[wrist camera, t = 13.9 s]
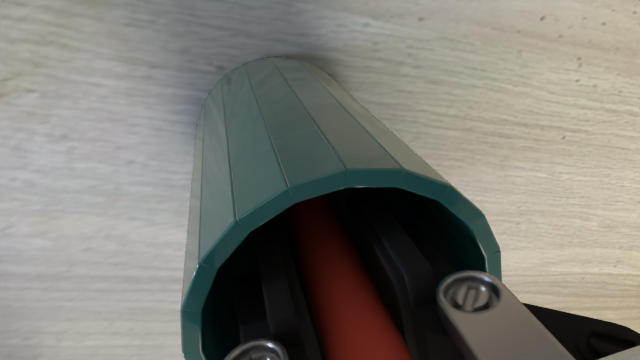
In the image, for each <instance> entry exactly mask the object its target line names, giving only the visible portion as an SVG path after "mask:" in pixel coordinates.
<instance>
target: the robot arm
mask: <svg viewBox="0 0 640 360" xmlns="http://www.w3.org/2000/svg"><path fill="white" fill-rule="evenodd" d="M345 205H346V210H347V214H348V219H349V223H350V228H351V232H352V237H353V241H354V246H355V248H356V250H357V252H358V254H359V255H360V257H361V259H362V261H363V263H364V265H365V267H366V269H367V271H368V273H369V274H370V276H371V278H372V280H373V282H374V284H375V286H376V288H377V290H378V292H379V294H380V295H381V297H382V299H383V301H384V303H385V305H386V307H387V309H388V311H389V313H390V315H391V316H392V318H393V320H394V322H395V324H396V326H397V328H398V330H399V332H400V334H401V335H402V337H403V339H404V341H405V343H406V345H407V347H408V349H409V351H410V353H411V355H412V356H413V358H414V360H640V334H639V333H637V332H635V331H634V330H632V329H630V328H628V327H625V326H622V325H619V324H616V323H612V322H607V321H603V320H598V319H594V318H589V317H585V316H580V315H576V314H571V313H566V312H562V311H557V310H553V309H548V308H544V307H539V306H535V305H530V304H526V303H521V302H520V300H519V299H518V298H517V297H516V296H515V295H514V294H513V293H512V292H511V291H510V290H509V289H508V288H507V287H506V286H505V285H504V284H503V283H502V282H501V281H500V280H499V279H497V278H496V277H495V276H493V275H490V274H488V273H486V272H481V271H476V270H464V271H459V272H455V270H454V269H453V268H452V267H451V266H450V264H449V263H448V262H447V261H446V259H445V258H444V257H443V256H442V255H441V253H440V252H439V251H438V250H437V249H436V247H435V246H434V245H433V244H432V242H431V241H430V240H429V239H428V238H427V236H426V235H425V234H424V233H423V231H422V230H421V229H420V228H419V227H418V225H417V224H416V223H415V222H414V221H409V222H405V223H402V224H399V223H398V222H397V220H396V219H395V218H394V216H393V215H392V214H391V213H390V211H389V210H388V209H387V207H386V206H385V205H384V203H383V202H382V201H381V199H380V198H379V197H378V195H377V194H376V193H375V191H374V190H373V189H372V187H362V188H359V189H355V190H352V191H350V197H347V198H345ZM253 233H254V239H255V245H256V251H257V258H258V264H259V269H256V270H253V271H249V272H246V273H243V274H240V275H237V276H236V289H237V301H238V314H239V326H240V339H241V344H240V345H239V346H237V347H236V348H234V349H233V350H232V351H231V352H230V353H229V354H228V355H227V356H226V357H225V358H224V360H322V357H321V354H320V350H319V347H318V343H317V340H316V337H315V333H314V330H313V326H312V323H311V319H310V316H309V312H308V309H307V305H306V302H305V298H304V295H303V292H302V288H301V285H300V282H299V278H298V275H297V272H296V269H295V265H294V262H293V259H292V255H291V252H290V249H289V245H288V242H287V239H286V235H285V232H284V229H283V226H282V222H281V219H280V218H277V219H274V220H273V219H270V220H268V221H267V222H265V223H264V224H262V225H261V226H259V227H258V228H256V229H254V230H253Z"/></svg>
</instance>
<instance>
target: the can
mask: <svg viewBox="0 0 640 360" xmlns="http://www.w3.org/2000/svg"><path fill="white" fill-rule="evenodd" d="M362 187H372V189H373V190H374V191H375V193H376V194H377V195H378V197H379V198H380V199H381V201H382V202H383V203H384V205H385V206H386V207H387V209H388V210H389V211H390V213H391V214H392V215H393V216H394V218H395V219H396V220H397V222H398V223H399V224H402V223H405V222H409V221H414V222H415V223H416V224H417V225H418V227H419V228H420V229H421V230H422V231H423V233H424V234H425V235H426V236H427V238H428V239H429V240H430V241H431V242H432V244H433V245H434V246H435V247H436V249H437V250H438V251H439V252H440V253H441V255H442V256H443V257H444V258H445V259H446V261H447V262H448V263H449V264H450V266H451V267H452V268H453V269H454V270H455V272H459V271H464V270H476V271H481V272H486V273H488V274H490V275H493V276H495V277H496V278H497V279H499V280H500V281H501V282H502V276H501V251H500V247H499V245H498V243H497V241H496V239H495V236H494V234H493V232H492V230H491V228H490V226H489V224H488V222H487V219H486V217H485V215H484V214H483V213H482V211H481V210H480V209H479V208H478V207H476V206H475V205H474V204H473V203H472V202H471V201H470V200H469V199H467V198H466V197H465V196H464V195H463V194H462V193H461V192H460V191H458V190H457V189H456V188H455V187H454V186H453V185H452V184H451V183H449V182H448V181H447V180H446V179H445V178H444V177H443V176H442V175H440V174H439V173H438V172H437V171H436V170H435V169H434V168H432V167H431V166H430V165H429V164H428V163H427V162H426V161H425V160H423V159H422V158H421V157H420V156H419V155H418V154H417V153H416V152H414V151H413V150H412V149H411V148H410V147H409V146H408V145H407V144H405V143H404V142H403V141H402V140H401V139H400V138H399V137H398V136H396V135H395V134H394V133H393V132H392V131H391V130H390V129H389V128H387V127H386V126H385V125H384V124H383V123H382V122H381V121H380V120H378V119H377V118H376V117H375V116H374V115H373V114H372V113H370V112H369V111H368V110H367V109H366V108H365V107H364V106H363V105H361V104H360V103H359V102H358V101H357V100H356V99H355V98H354V97H352V96H351V95H350V94H349V93H348V92H347V91H346V90H345V89H343V88H342V87H341V86H340V85H339V84H338V83H337V82H335V81H334V80H333V79H332V78H331V77H330V76H329V75H327V74H326V73H325V72H324V71H322V70H321V69H319V68H317V67H315V66H313V65H312V64H310V63H307V62H304V61H301V60H298V59H293V58H287V57H267V58H262V59H257V60H254V61H251V62H248V63H245V64H243V65H241V66H239V67H237V68H235V69H234V70H232V71H231V72H229V73H228V74H226V75H225V76H224V77H223V78H222V79H221V80H220V81H219V82H218V83H217V84H216V85H215V86H214V88H213V89H212V90H211V91H210V93H209V95H208V96H207V98H206V99H205V102H204V104H203V106H202V108H201V111H200V115H199V118H198V123H197V126H196V135H195V147H194V159H193V170H192V182H191V193H190V205H189V217H188V228H187V240H186V252H185V263H184V275H183V287H182V298H181V310H180V314H181V341H182V352H183V356H184V358H185V360H224V358H225V357H226V356H227V355H228V354H229V353H230V352H231V351H232V350H233V349H234V348H236V347H237V346H239V345H240V344H241V339H240V326H239V314H238V301H237V289H236V276H237V275H240V274H243V273H246V272H249V271H253V270H256V269H259V264H258V258H257V251H256V245H255V239H254V233H253V230H254V229H256V228H258V227H259V226H261V225H262V224H264V223H265V222H267V221H268V220H270V219H273V220H274V219H277V218H280V219H281V222H282V226H283V229H284V232H285V235H286V239H287V242H288V245H289V249H290V252H291V255H292V259H293V262H294V265H295V269H296V272H297V275H298V278H299V282H300V285H301V288H302V292H303V295H304V298H305V302H306V305H307V309H308V312H309V316H310V319H311V323H312V326H313V330H314V333H315V337H316V340H317V343H318V347H319V350H320V354H321V357H322V360H326V359H325V356H324V353H323V349H322V346H321V343H320V339H319V336H318V333H317V329H316V326H315V322H314V319H313V316H312V312H311V309H310V306H309V302H308V299H307V296H306V292H305V289H304V285H303V282H302V279H301V275H300V272H299V269H298V265H297V262H296V259H295V255H294V252H293V248H292V245H291V242H290V238H289V235H288V232H287V228H286V225H285V222H284V218H283V215H282V212H283V211H284V210H286V209H287V208H289V207H290V206H292V205H294V204H295V203H298V202H301V201H304V200H308V199H311V198H314V197H317V196H321V195H324V194H328V196H329V198H330V200H331V202H332V204H333V206H334V208H335V210H336V212H337V213H338V215H339V217H340V219H341V221H342V223H343V225H344V227H345V229H346V231H347V233H348V234H349V236H350V238H351V240H352V242H353V244H354V241H353V237H352V232H351V228H350V223H349V219H348V214H347V210H346V205H345V198H347V197H350V191H352V190H355V189H359V188H362Z"/></svg>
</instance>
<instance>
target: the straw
mask: <svg viewBox="0 0 640 360" xmlns="http://www.w3.org/2000/svg"><path fill="white" fill-rule="evenodd" d="M282 215H283V218H284V222H285V225H286V228H287V232H288V235H289V238H290V242H291V245H292V248H293V252H294V255H295V259H296V262H297V265H298V269H299V272H300V275H301V279H302V282H303V285H304V289H305V292H306V296H307V299H308V302H309V306H310V309H311V312H312V316H313V319H314V322H315V326H316V329H317V333H318V336H319V339H320V343H321V346H322V349H323V353H324V356H325V359H326V360H414V358H413V356H412V355H411V353H410V351H409V349H408V347H407V345H406V343H405V341H404V339H403V337H402V335H401V334H400V332H399V330H398V328H397V326H396V324H395V322H394V320H393V318H392V316H391V315H390V313H389V311H388V309H387V307H386V305H385V303H384V301H383V299H382V297H381V295H380V294H379V292H378V290H377V288H376V286H375V284H374V282H373V280H372V278H371V276H370V274H369V273H368V271H367V269H366V267H365V265H364V263H363V261H362V259H361V257H360V255H359V254H358V252H357V250H356V248H355V246H354V244H353V242H352V240H351V238H350V236H349V234H348V233H347V231H346V229H345V227H344V225H343V223H342V221H341V219H340V217H339V215H338V213H337V212H336V210H335V208H334V206H333V204H332V202H331V200H330V198H329V196H328V194H324V195H321V196H317V197H314V198H311V199H308V200H304V201H301V202H298V203H295V204H294V205H292V206H290V207H289V208H287V209H286V210H284V211H283V212H282Z"/></svg>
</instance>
